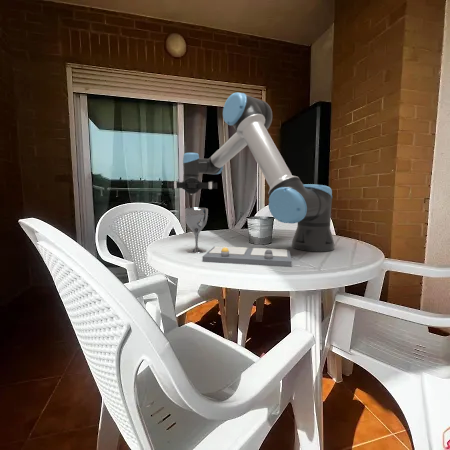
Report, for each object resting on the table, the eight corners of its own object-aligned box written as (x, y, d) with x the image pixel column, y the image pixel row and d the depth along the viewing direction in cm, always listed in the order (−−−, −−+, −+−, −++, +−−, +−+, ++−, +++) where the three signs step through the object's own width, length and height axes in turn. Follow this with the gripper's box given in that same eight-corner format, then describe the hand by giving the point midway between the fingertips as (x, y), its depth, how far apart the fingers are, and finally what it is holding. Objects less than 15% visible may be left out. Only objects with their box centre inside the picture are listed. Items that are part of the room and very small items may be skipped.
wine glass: (183, 253, 91) (182, 209, 90) (187, 248, 99) (187, 207, 97) (206, 253, 91) (206, 209, 89) (209, 248, 99) (208, 207, 97)
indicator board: (289, 254, 90) (289, 242, 90) (291, 266, 76) (291, 252, 75) (214, 250, 95) (214, 239, 95) (202, 261, 81) (202, 248, 80)
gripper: (218, 194, 126) (225, 195, 105) (163, 193, 122) (159, 194, 101) (218, 177, 125) (225, 175, 104) (163, 176, 121) (159, 174, 100)
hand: (193, 185), depth 102 cm, fingers open, 13 cm apart
